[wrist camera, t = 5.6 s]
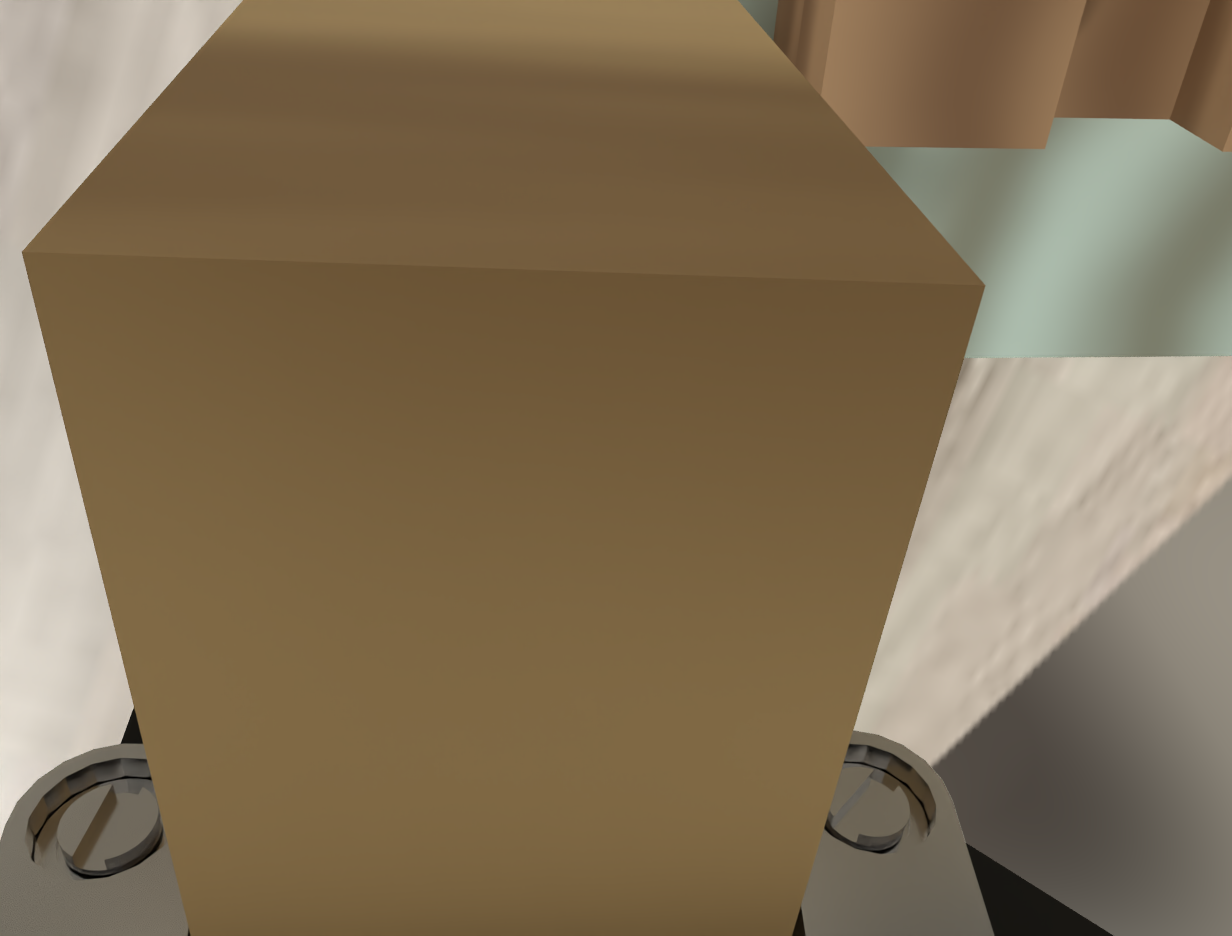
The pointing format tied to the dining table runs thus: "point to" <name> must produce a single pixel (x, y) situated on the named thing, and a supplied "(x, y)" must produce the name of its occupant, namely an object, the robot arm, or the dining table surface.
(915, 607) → the dining table surface
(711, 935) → the oak slotted beam
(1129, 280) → the slotted holder base
